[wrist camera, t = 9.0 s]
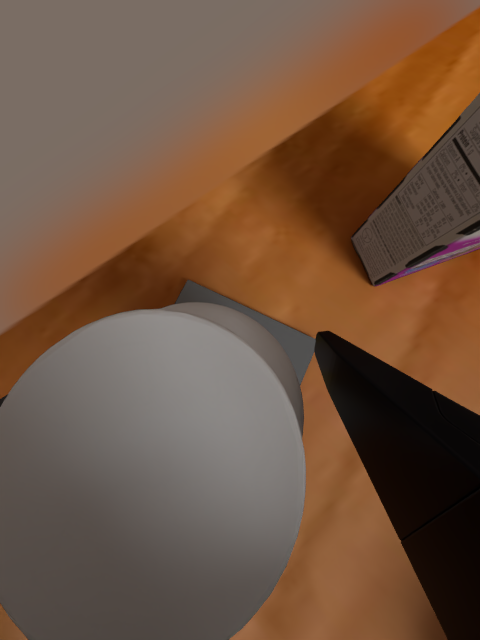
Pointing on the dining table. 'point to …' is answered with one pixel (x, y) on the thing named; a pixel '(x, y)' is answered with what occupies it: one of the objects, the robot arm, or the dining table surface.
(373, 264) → the candy bar box
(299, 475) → the supplement bottle
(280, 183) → the dining table surface
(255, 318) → the slate coaster
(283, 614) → the dining table surface
